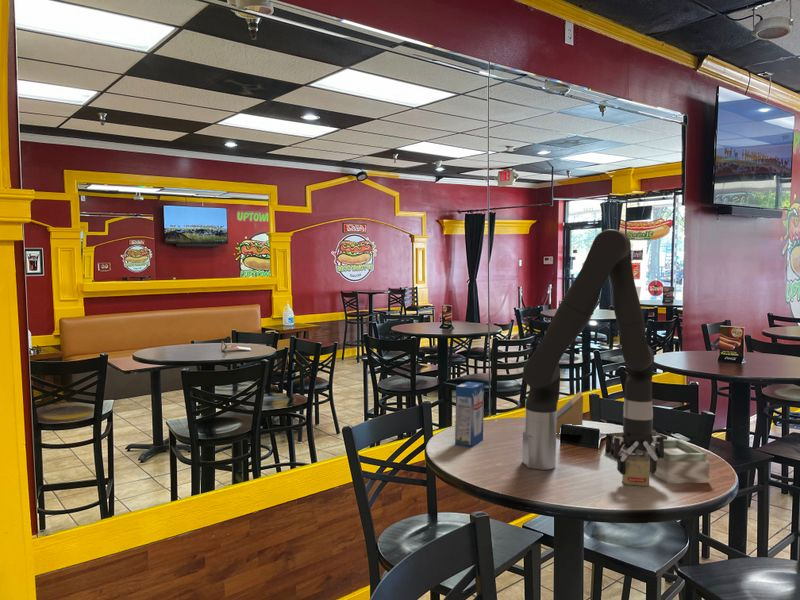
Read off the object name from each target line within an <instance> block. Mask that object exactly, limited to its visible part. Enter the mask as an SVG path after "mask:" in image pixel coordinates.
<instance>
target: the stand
mask: <svg viewBox="0 0 800 600" xmlns="http://www.w3.org/2000/svg"><path fill="white" fill-rule="evenodd" d="M663 441H664V457H663V458H659V459H658V460H657V470H656V471H655V473H654V474H653V475H654V476H656V477H657V478H659V479H661V481H663V482H665V483H666V484H700V483H701V484H705V483H707V484H709V481H710V480H709V479H710V461H709V460H707V458H708V456H707V455H708V454H707V453H706V452H703V451H701V449H698V448H696V447H694V446H692V445H691V444H688V443H686V442H684V441H682V440H681V439H675V438H674V439H667V440H663ZM650 447H651V449H652V450H653V451H654V453H655V443H654V442H652V443H651V445H650ZM641 454H643V453H641ZM647 455H648V454H647Z"/></svg>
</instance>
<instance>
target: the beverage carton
mask: <svg viewBox="0 0 800 600" xmlns="http://www.w3.org/2000/svg"><path fill="white" fill-rule="evenodd" d="M655 435H659V436H661V437H663V440H668V437H669V436H667V435H665V434H662V433H659V432H657V431H656V430H654V429H652V436H655ZM612 436H616V437H622V436H623V432H609V433H606V434H605V446H604V448H605V449H604V451H605V452H606V453H608V454H610V452H611V439H612ZM623 445H624V443H623V441H622V442H621V445H619V452H620V449H621V448H622V446H623ZM626 450H627V449H626ZM632 453H633V452H632ZM640 454H641V453H640Z"/></svg>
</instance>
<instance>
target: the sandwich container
mask: <svg viewBox="0 0 800 600" xmlns="http://www.w3.org/2000/svg"><path fill="white" fill-rule="evenodd" d="M583 414H584V395H583V393H582V391H581V390H579V391H578V392H577V393H576V394H575V395H573V396H572V398H570V399H569V400H568V401H567V402H565V404H564V405H562V406H561V407H560V408H559V409H557V426H556V433H557V434H556V435H558V434H559V433H560V428H561V425H562V424H572V425H582V426H583V422H584V421H583V418H584V416H583Z"/></svg>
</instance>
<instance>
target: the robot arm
mask: <svg viewBox="0 0 800 600" xmlns="http://www.w3.org/2000/svg"><path fill="white" fill-rule="evenodd" d="M631 243H632V242H631V239H630V238H629V236H628V235H627V234H626V233H624V232H622V231H621V230H617V229H613V228H612V229H611V228H609V229H603V231H601V232H599V233H598V234H597V235H596V236H595V238H594V239H593V241H592V243H591V246H590V248H589V251H588V254H587V255H586V257H585V260H584V263H583V264H582V267H581V268H580V271H579V273H578V274H577V276H576V277H575V278H574V280H573V281H572V284H571V285H570V286H569V288H568V289H567V291H566V293H565V295H564V296H563V298H562V300H561V302H560V304H559V306H558V308H557V309H556V311H555V313H554V316H552V319H551V321H550V323H549V324H548V327H547V329H546V330H545V333H544V336H543V338H542V339H541V341H540V342H539V344H538V346H537V347H536V348H535V350H534V352H533V353H532V354H531V356H530V357H529V358H528V360H527V361H526V363H525V364H524V367H523V372H522V375H523V376H522V377H523V380H524V382H525V383H526V385H527V386H528V387H529V391H528V395H527V397H526V399H525V413H524V414H525V416H524V420H525V421H524V422H525V423H524V425H525V426H524V430H523V432H522V457H521V458H522V463H523V464H524V466H526V467H527V469H534V470H538V471H539V470H540V471H542V470H543V471H545V470H546V471H547V470H552V469H554V468H556V467H557V465H556V463H557V434H556V426H557V411H558V402H559V400H560V399H559V398H560V390H561V388H560V387H561V369H560V365H559V363H560V361H561V359H562V357H563V356H564V354H565V353H566V351H567V350H568V349H569V347H570V346H571V345H572V344H573V343H574V342H575V340H576V339H577V338H578V337H579V336H580V334H581V333H582V332H583V331H584V329H585V327H586V326H587V325H588V323H589V321H590V319H591V317H592V316H593V314H594V312H595V309H596V307H597V305H598V302H599V300H600V295H601V293H602V290H603V286H604V284H605V282H606V280H607V279H608V277H609V278H610V279H609V280H610V283H611V293H612V304H613V305H612V306H613V312H614V316H615V320H616V324H617V328H618V331H619V336H620V345H621V353H622V359H623V360H624V363H625V365H626V366H627V377H626V380H625V382H624V400H623V401H624V402H623V408H622V409H623V411H622V412H623V415H622V430H623V436H622V437H616V436H612V439H611V452H610V453H609V454H610V457H611V458H613V459H614V460H617V463H616V464H617V465H616V467H617V471H618V472H619V474H621V475H622V476H623V475H624V474H625V461H624V460H625V459H626V458H627V456H629V455H630V454H631V453H632V452H633V453H635V451H636V450H644V451H645V450H647V454H648V456H650V475H654V473H655V471H656V470H657V460H658V459H659V458H663V457H664V441H663V437H661V436H659V435H655V436H652V430H653V419H654V409H653V375H654V367H655V353H654V351H653V349H652V347H650V345H648V340H647V336H646V330H647V329H646V328H647V327H646V322H645V319H644V318H645V317H644V313H643V310H642V306H641V302H640V298H639V295H638V291H637V287H636V282H635V278H634V272H633V271H634V269H633V262H632V261H633V260H632V244H631ZM622 441H623V443H624V445H623V446H622V448H621V449H620V452H619V445H621V442H622ZM652 442H654V443H655V453H654V451H653V450H652V449H651V447H650V445H651V443H652ZM626 449H627V450H626Z"/></svg>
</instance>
